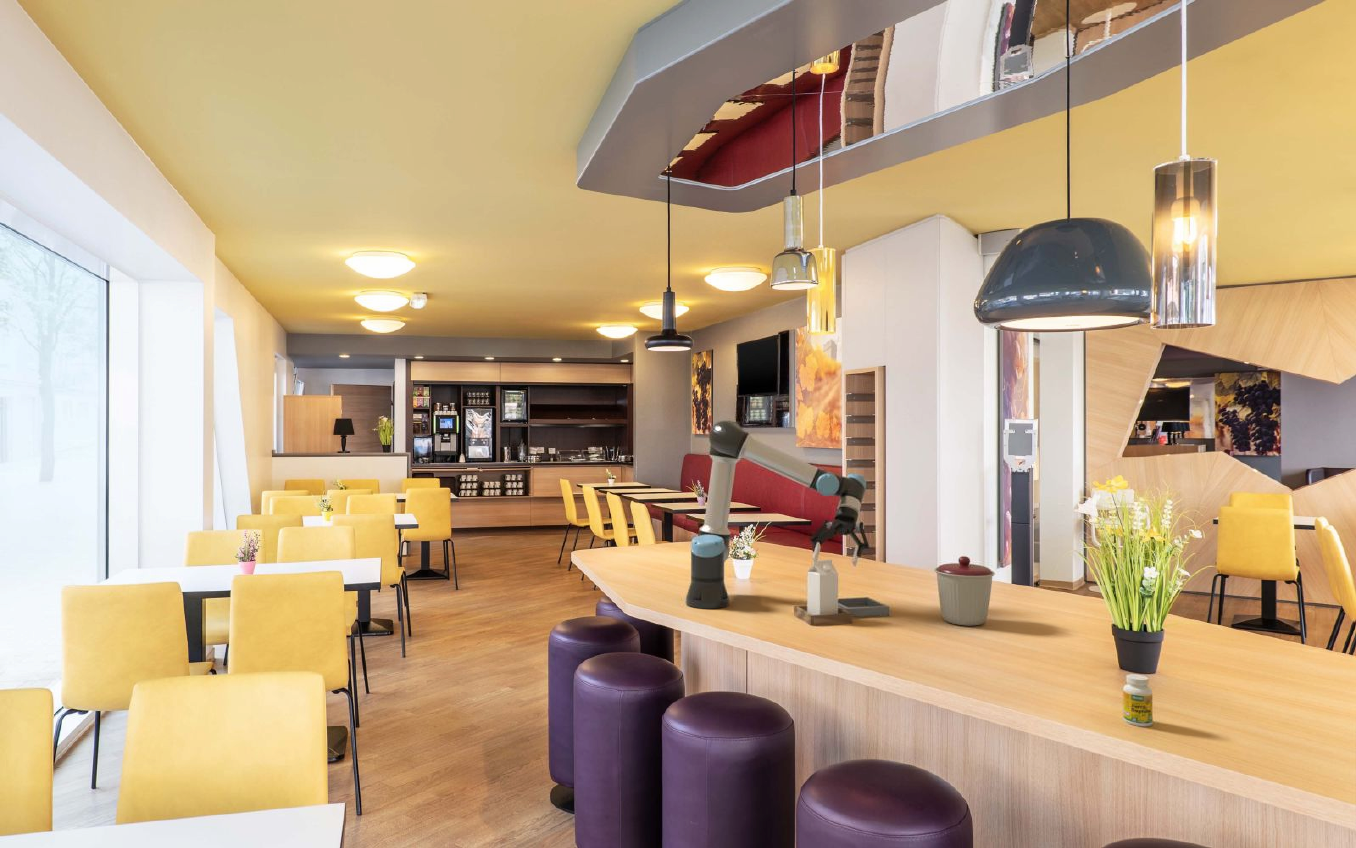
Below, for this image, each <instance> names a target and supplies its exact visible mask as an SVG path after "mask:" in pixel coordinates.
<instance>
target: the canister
mask: <svg viewBox="0 0 1356 848" xmlns="http://www.w3.org/2000/svg"><path fill="white" fill-rule="evenodd" d="M957 561H958V562H957V563H956V562H955V563H951V562H950V563H944V564H941V565H939V566H938V567H935V568H934V572H935V573H936V580H937V589H938V599H939V605H940V612H941V616H942V618H943V619H944V621H945V622H947V623H950V624H953V625H956V624H957V626H963V627H964V626H966V627H967V626H968V627H972V626H973V627H975V626H981V625H984V624H985V623H986V620H987V618H988V615H989V609H990V601H991V592H992V585H993V584H992V583H993V577H994V576H995V571H993V570H992V569H990V568H989V567H987V566H984V565H980V564H973V563H971V559H970V557H968V556H966V555H965V556H960V557H958V560H957Z"/></svg>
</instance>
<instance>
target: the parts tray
mask: <svg viewBox="0 0 1356 848" xmlns="http://www.w3.org/2000/svg"><path fill="white" fill-rule="evenodd" d="M838 607H840V608H842V609H844V610H846V611H848V612H850V613H852V619H854V618H853V617H856V618H870V617H872V618H873V617H887V616H888V617H890V606H889V605H886V604H885V603H882V602H880V601H877V600H875V599H873V598H871V597H868V596H865V597H864V596H863V597H845V598H843V597H842V598H841V597H840V598H838Z"/></svg>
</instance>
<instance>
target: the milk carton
mask: <svg viewBox="0 0 1356 848" xmlns="http://www.w3.org/2000/svg"><path fill="white" fill-rule="evenodd" d="M812 561H813V562H812V563H813V565H812V566H811V567H810V568H809V569H808V571H807V575H806V576H807V577H806V578H807V586H806V587H807V588H806V589H807V590H806V591H807V595H806V596H807V601H806V602H807V603H806V605H807V612H808V613H810V614H812V615H821V614H838V599H839V572H838V571H837V569H836V568H835V565H834V564H833V559H824V560H823V559H822V560H817V561H814V560H812Z"/></svg>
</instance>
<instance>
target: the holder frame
mask: <svg viewBox="0 0 1356 848" xmlns="http://www.w3.org/2000/svg"><path fill="white" fill-rule="evenodd" d="M793 615H794V616H795V617H796V618H798V619H799V620H801V621H803V622H804V623H807V624H808V625H809V626H824V625H825V626H826V625H841V624H842V625H843V624H852V623H853V618H852V613H850V612H848V611H846V610H844V609H842V608H840V607H838V614H821V615H812V614H810V613H808V612H807V604H806V605H794V606H793Z"/></svg>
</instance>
